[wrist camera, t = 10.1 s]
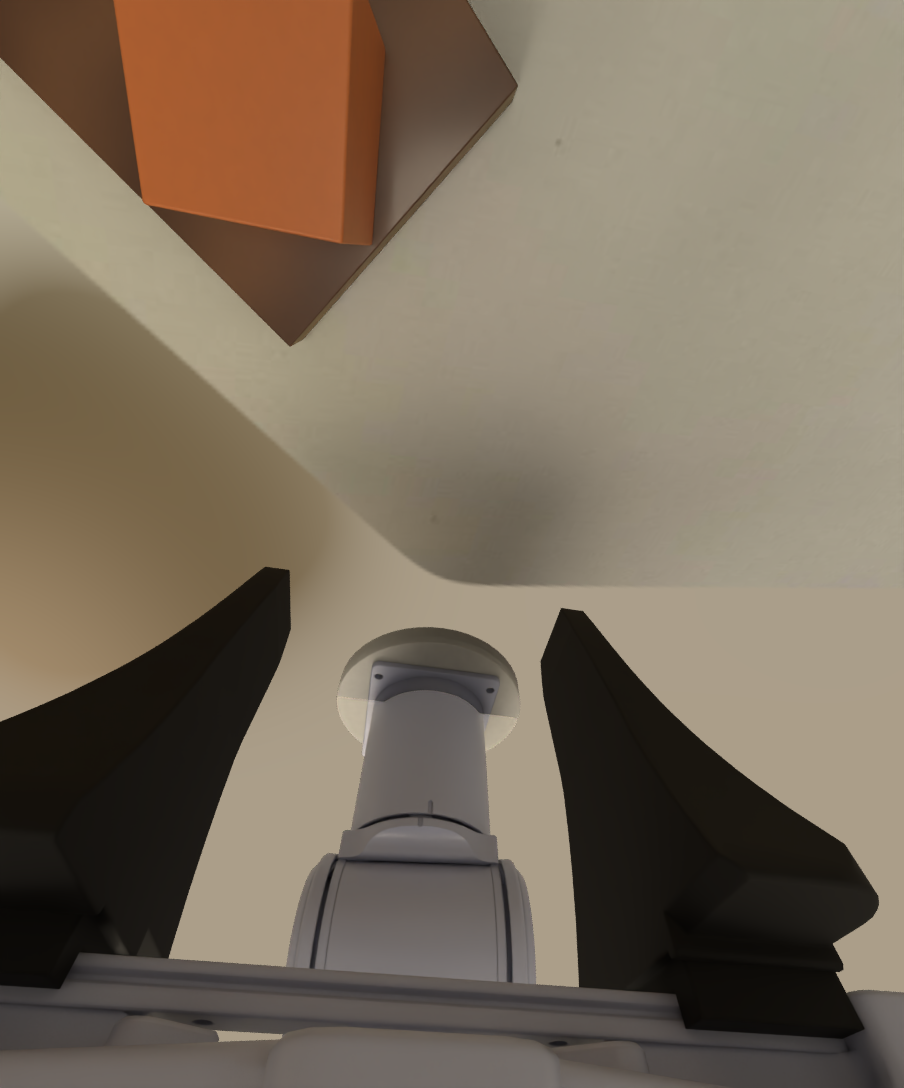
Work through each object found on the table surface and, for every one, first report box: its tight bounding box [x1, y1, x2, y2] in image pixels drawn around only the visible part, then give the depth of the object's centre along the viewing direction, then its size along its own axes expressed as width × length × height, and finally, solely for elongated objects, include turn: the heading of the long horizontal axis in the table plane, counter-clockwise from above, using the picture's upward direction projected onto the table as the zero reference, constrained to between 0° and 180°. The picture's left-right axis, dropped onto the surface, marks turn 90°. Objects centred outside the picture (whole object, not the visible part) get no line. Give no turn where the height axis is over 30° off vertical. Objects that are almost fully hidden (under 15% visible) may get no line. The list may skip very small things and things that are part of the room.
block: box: [113, 0, 385, 246], centre depth 11 cm, size 4×4×4 cm
